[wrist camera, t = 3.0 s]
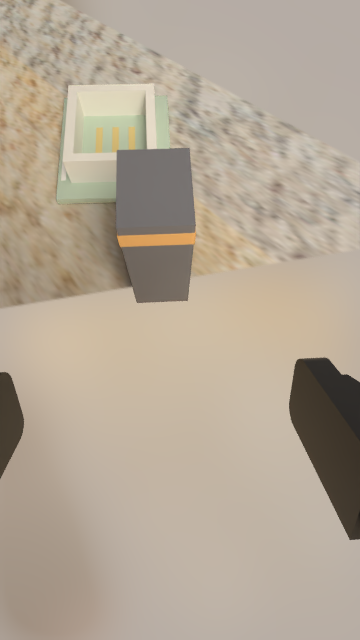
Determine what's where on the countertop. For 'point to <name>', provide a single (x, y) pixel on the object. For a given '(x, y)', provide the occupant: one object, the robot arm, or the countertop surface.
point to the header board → (106, 136)
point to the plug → (156, 221)
